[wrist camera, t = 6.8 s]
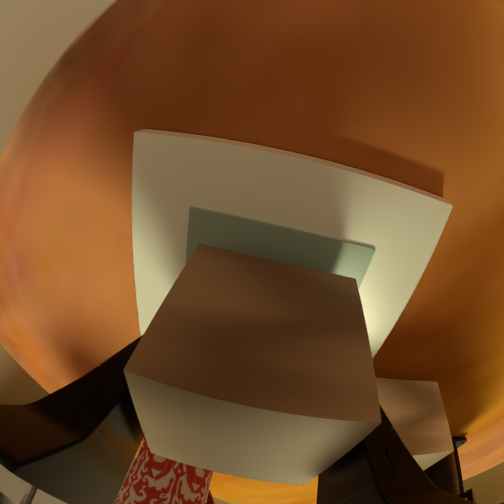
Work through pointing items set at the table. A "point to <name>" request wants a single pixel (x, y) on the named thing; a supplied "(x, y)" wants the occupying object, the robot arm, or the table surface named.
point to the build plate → (277, 219)
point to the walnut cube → (255, 369)
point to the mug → (164, 482)
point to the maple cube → (417, 417)
